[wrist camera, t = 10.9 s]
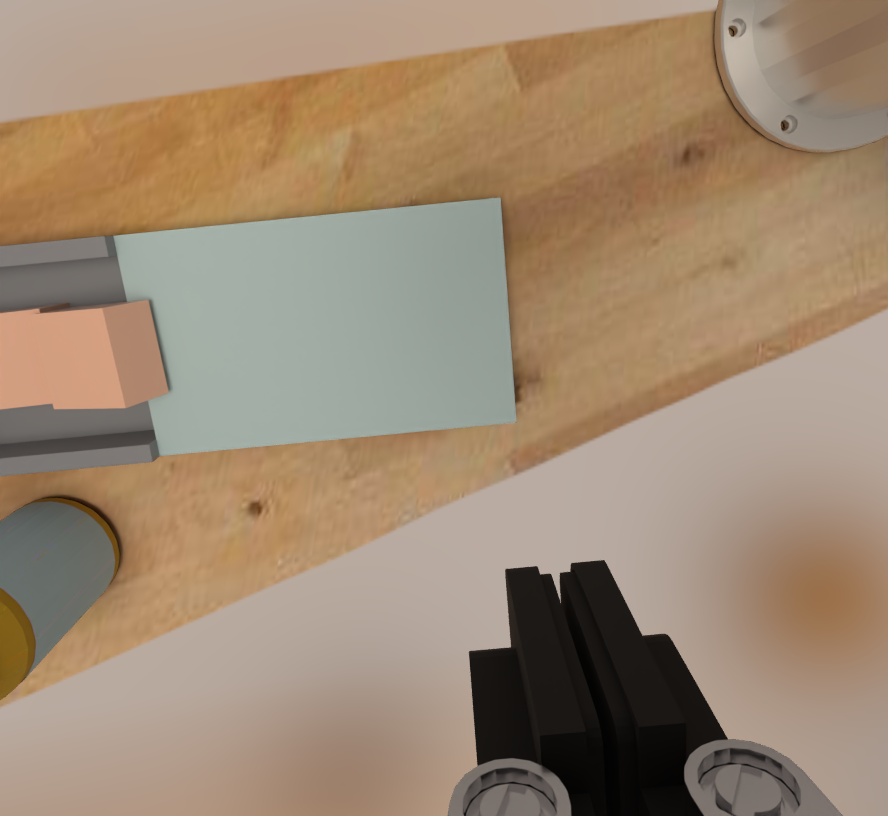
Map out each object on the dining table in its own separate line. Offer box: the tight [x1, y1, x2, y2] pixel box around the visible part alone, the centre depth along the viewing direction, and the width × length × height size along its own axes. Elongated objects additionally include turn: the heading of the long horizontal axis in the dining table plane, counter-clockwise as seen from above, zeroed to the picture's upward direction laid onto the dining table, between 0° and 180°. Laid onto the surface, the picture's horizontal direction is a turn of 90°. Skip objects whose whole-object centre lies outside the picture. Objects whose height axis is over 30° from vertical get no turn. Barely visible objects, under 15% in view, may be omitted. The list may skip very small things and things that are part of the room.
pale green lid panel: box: [113, 197, 516, 456], centre depth 38 cm, size 20×12×2 cm, turn 95°
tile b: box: [0, 302, 70, 409], centre depth 38 cm, size 5×5×3 cm
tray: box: [0, 236, 160, 476], centre depth 38 cm, size 12×12×4 cm
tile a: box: [29, 300, 169, 409], centre depth 36 cm, size 5×5×3 cm
